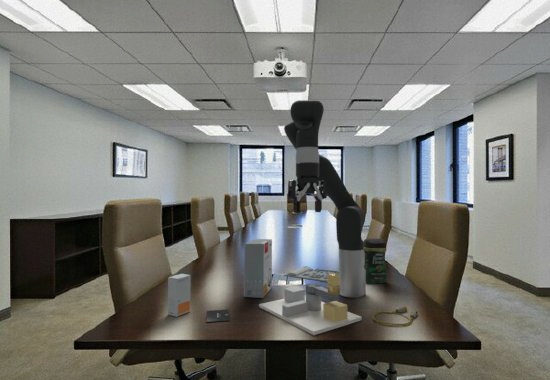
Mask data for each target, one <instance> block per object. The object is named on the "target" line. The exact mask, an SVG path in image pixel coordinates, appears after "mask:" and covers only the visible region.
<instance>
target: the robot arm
mask: <svg viewBox="0 0 550 380" xmlns="http://www.w3.org/2000/svg"><path fill="white" fill-rule="evenodd" d="M323 116H324V104H323V103H322V101H320V100H318V99H311V100H310V99H309V100H308V99H302V100H295V101H294V102H292V103H291V106H290V117H291V119H292V121H289V122H288V123H287V124H285V125H284V127H283V130H284V133H285V135H286V138H287V139H288V140H289V142H290V143H291V145H292V146H293V147H294V149H295V151H296V152H295V177H296V180H295V179H289V180H288V182H287V185H288V186H287V199H288V200H291V201H292V202H293V205H292V206H293V208H292V209H293V212H294V213H295V214H301V201H300V200H302V197H304V195H305V194H306V195H311V196H312V197H313V199H314V200H315V201H314V212H315V213H321V212H322V208H323V205H322V203H323V202H322V201H323V200H324V199H327V198H329V199H330V201H332V203H333V204H334V206H335V207H336V209H337V211H338V212H337V215H336V218H335V219H336V220H335V223H336V224H335V225H336V226H335V227H336V241H337V244H338V271H339V275H340V294H339V296H341V297H345V298H362V297H364V296H365V295H366V293H367V291H366V290H367V285H366V284H367V282H366V270H365V268H364V261H365V252H364V240H363V239H362V227H363V226H364V224H365V220H366V215H365V213H364V211H363V209H362V208H361V207H360V205H359V204H358V203H357V202H356V201H355V199H354V198H353V197H352V196H351V194H350V192H349V191H348V188H346V185H345V184H344V182H343V180H342V178H341V177H340V174H338V171H337V170H336V169H335V167H334V165H333V164H332V161H330V159H328V158H327V157H326V156H323V155H321V154H320V151H319V132H320V131H319V130H320V126H321V122H322V119H323Z"/></svg>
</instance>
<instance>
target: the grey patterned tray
mask: <svg viewBox="0 0 550 380" xmlns="http://www.w3.org/2000/svg"><path fill="white" fill-rule="evenodd" d="M328 271H330V272H328ZM336 272H337V274H339V270H337V269H336V270H335V269H326V268H315V269H313V268H312V267H310V266H303V267H300V268H297V269H295V270H293V271H289V272H287V273H284V274H283V275H284V277H288V278H289V277H291V278H295V279H296V278H297V279H303V280H309V281H317V282H323V283H327V274H329V273H336Z"/></svg>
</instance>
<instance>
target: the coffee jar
mask: <svg viewBox="0 0 550 380" xmlns="http://www.w3.org/2000/svg"><path fill="white" fill-rule="evenodd" d="M363 244H364V268H365V270H366V283H369V284H385V283H386V282H387V281H388V280H387V279H388V278H387V277H388V276H387V267H386V252H387V250H388V248H387V242H386V240H385V239H383V238H364V239H363Z"/></svg>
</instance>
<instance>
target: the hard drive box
mask: <svg viewBox="0 0 550 380" xmlns="http://www.w3.org/2000/svg"><path fill="white" fill-rule="evenodd" d="M243 246H244V252H243V253H244V255H243V257H244V259H243V261H244V262H243V263H244V265H243V297H244V298H256V299H257V298H258V299H263V298H265V296H266V295H267V294H268V293H269V291H271V289H272V287H273V282H272V281H273V261H272V260H273V239H267V238H254V239H252V240H250V241H248V242H245V243H244V245H243Z"/></svg>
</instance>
